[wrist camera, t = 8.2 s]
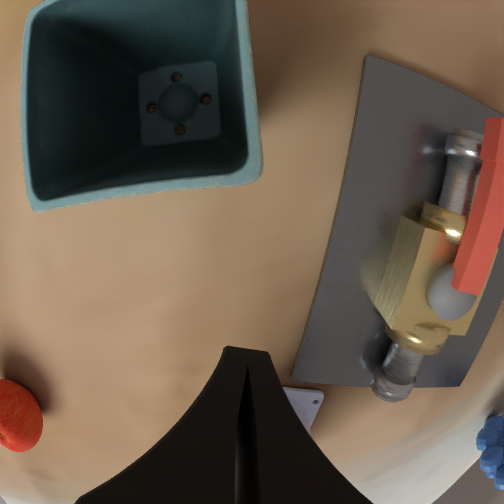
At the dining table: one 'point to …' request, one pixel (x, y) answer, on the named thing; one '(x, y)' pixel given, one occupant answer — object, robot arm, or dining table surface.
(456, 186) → the valve body
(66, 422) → the dining table surface
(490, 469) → the grapes
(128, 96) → the flower pot
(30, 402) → the apple
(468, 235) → the lever
